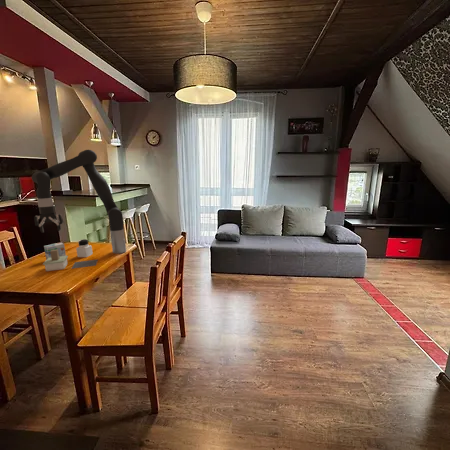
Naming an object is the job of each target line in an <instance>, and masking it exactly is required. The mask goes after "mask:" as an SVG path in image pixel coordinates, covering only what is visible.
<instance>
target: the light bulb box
mask: <svg viewBox="0 0 450 450" xmlns="http://www.w3.org/2000/svg"><path fill="white" fill-rule="evenodd" d="M43 248H44V254H45V261H46V260H47V259H48V258H51V253H50V251H51V250H56V249H58V251H59V257H60V256H67V254H66V253H67V252H66V248H65V243H63V242H61V241H60V242H57V243H56V242H55V243H51V244H48V245H43Z"/></svg>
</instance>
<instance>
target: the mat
mask: <svg viewBox="0 0 450 450" xmlns="http://www.w3.org/2000/svg"><path fill="white" fill-rule="evenodd" d="M98 261H99V259H98V258H97V259H92V260H91V259H89V260H81V261H75V262H74V263H73V265H72V267H71V268H70V269H71V270H72V269H80V268H86V267H95V266H97V264H98Z"/></svg>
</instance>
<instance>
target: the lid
mask: <svg viewBox="0 0 450 450" xmlns="http://www.w3.org/2000/svg"><path fill="white" fill-rule="evenodd" d="M50 253H51V258H48V259H47V260H46V259H45V260H44V262H43V263H42V266H43V265H44V266H45V265H46V264H54V263H62V262H64V261H65V260H66V259H67V260H68V257H69V255H66V256H60V257H59V251H58V249H56V250H51V251H50Z"/></svg>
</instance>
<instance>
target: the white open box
mask: <svg viewBox="0 0 450 450" xmlns="http://www.w3.org/2000/svg"><path fill="white" fill-rule="evenodd" d="M67 265H68V258H67V259H66V260H65V261H64V262H62V263H54V264H46V265H44V267H45V272H51V271H59V270H61V271H62V270H64V269H66V267H67Z"/></svg>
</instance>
